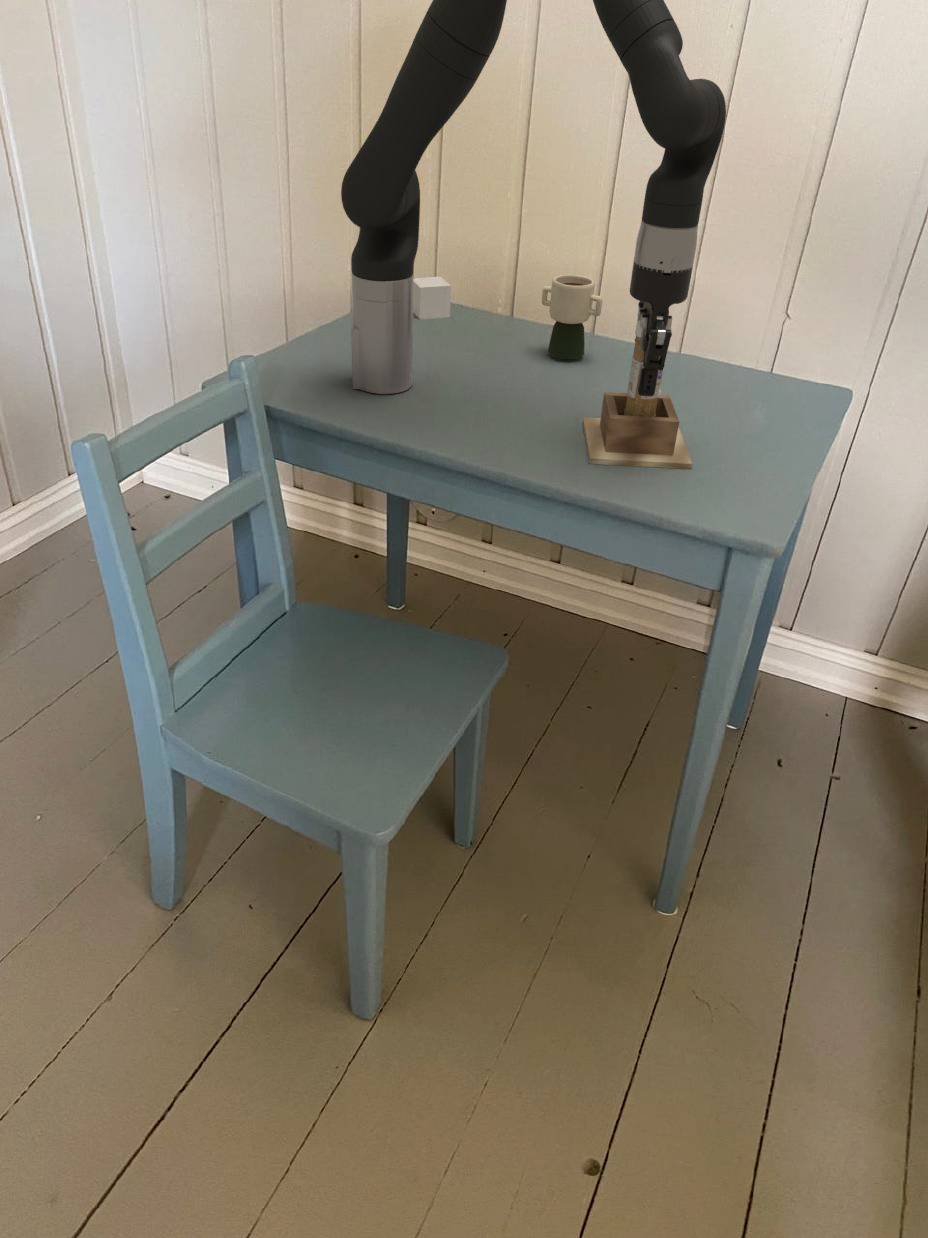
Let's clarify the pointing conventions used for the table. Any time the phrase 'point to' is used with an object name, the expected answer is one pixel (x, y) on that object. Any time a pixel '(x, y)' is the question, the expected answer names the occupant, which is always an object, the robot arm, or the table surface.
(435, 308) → the white cube
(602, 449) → the socket
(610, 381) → the table surface
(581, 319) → the character mug
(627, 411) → the sprinkles bottle
